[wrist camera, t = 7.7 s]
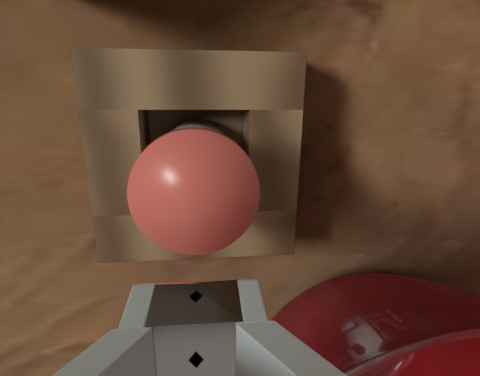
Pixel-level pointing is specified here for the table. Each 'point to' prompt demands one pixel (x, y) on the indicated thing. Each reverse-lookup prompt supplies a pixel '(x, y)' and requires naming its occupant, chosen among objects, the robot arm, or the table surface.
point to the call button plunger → (193, 189)
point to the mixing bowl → (388, 325)
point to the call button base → (181, 109)
